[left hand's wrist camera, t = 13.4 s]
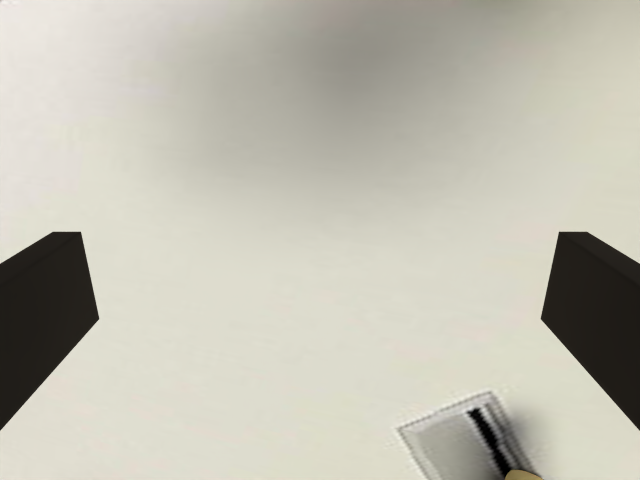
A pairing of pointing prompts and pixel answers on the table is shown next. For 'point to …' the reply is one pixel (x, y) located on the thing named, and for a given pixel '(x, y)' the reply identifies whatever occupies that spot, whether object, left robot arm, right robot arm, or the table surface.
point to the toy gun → (521, 475)
